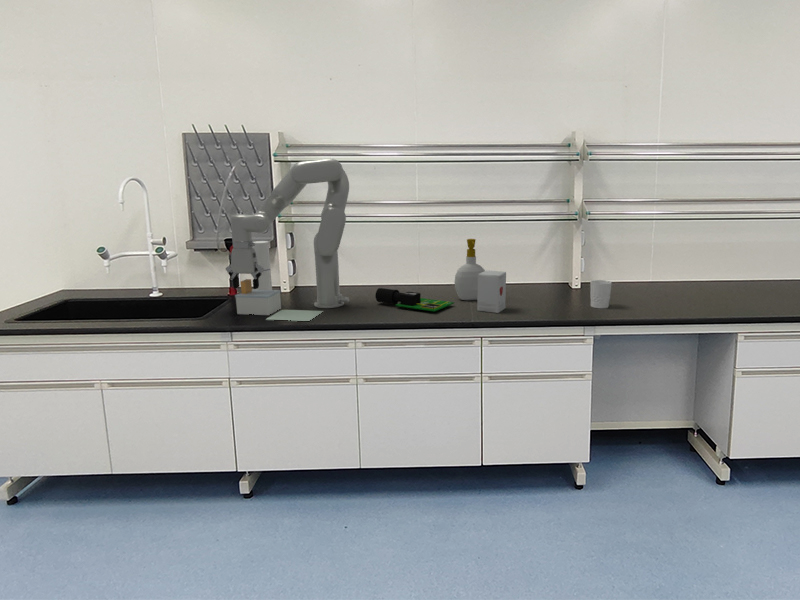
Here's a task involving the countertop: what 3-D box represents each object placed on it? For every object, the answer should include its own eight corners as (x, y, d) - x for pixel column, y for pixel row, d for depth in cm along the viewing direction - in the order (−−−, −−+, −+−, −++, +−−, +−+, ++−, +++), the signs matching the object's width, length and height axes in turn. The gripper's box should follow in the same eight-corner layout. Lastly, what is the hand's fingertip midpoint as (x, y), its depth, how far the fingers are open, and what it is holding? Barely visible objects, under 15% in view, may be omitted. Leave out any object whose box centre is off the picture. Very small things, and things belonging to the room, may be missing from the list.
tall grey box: (268, 298, 251) (264, 243, 245) (254, 297, 252) (249, 243, 247) (275, 294, 258) (270, 241, 252) (260, 294, 259) (256, 241, 253)
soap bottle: (456, 302, 233) (456, 241, 227) (452, 298, 242) (452, 238, 236) (490, 301, 235) (490, 239, 229) (484, 296, 243) (485, 237, 237)
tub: (281, 308, 231) (279, 292, 230) (269, 315, 221) (267, 298, 219) (250, 307, 235) (249, 291, 233) (237, 314, 224) (235, 297, 223)
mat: (323, 312, 224) (323, 311, 224) (309, 322, 210) (308, 321, 210) (282, 310, 228) (282, 309, 228) (265, 320, 214) (265, 319, 214)
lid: (280, 295, 230) (279, 278, 229) (268, 301, 220) (266, 283, 218) (249, 294, 234) (247, 277, 232) (235, 300, 223) (233, 283, 221)
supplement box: (498, 313, 215) (499, 275, 212) (476, 311, 219) (477, 273, 216) (506, 308, 223) (506, 271, 219) (485, 306, 227) (485, 270, 224)
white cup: (601, 310, 216) (602, 284, 214) (584, 306, 223) (586, 281, 220) (614, 307, 220) (615, 282, 218) (597, 303, 227) (599, 279, 224)
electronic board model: (453, 290, 226) (434, 297, 214) (453, 306, 228) (434, 314, 216) (394, 283, 243) (373, 289, 231) (394, 298, 245) (373, 305, 233)
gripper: (266, 244, 224) (270, 286, 228) (228, 244, 228) (232, 285, 232) (257, 246, 217) (261, 290, 221) (218, 246, 221) (222, 289, 225)
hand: (246, 287), depth 227 cm, fingers open, 8 cm apart
